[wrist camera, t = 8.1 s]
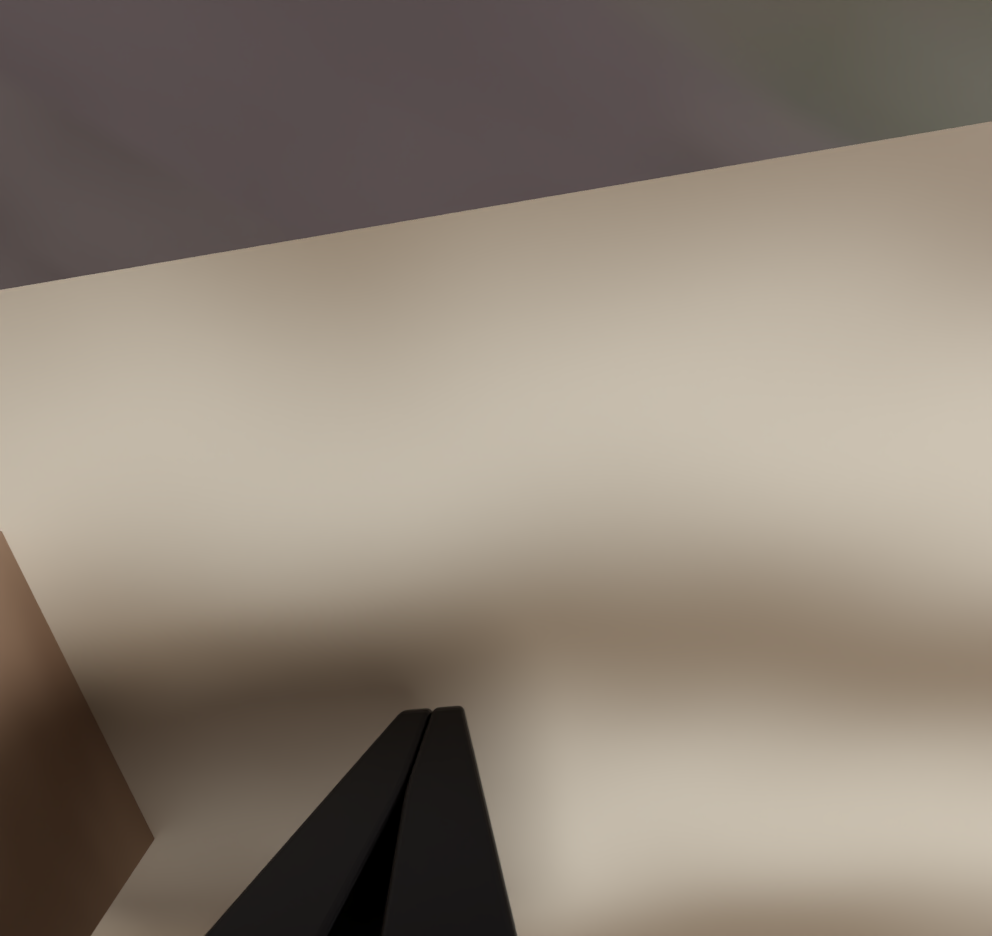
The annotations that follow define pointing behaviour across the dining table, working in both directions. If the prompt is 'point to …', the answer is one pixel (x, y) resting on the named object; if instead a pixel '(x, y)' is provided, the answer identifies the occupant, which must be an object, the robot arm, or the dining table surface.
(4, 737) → the walnut block
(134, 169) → the dining table surface
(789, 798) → the trap deck
